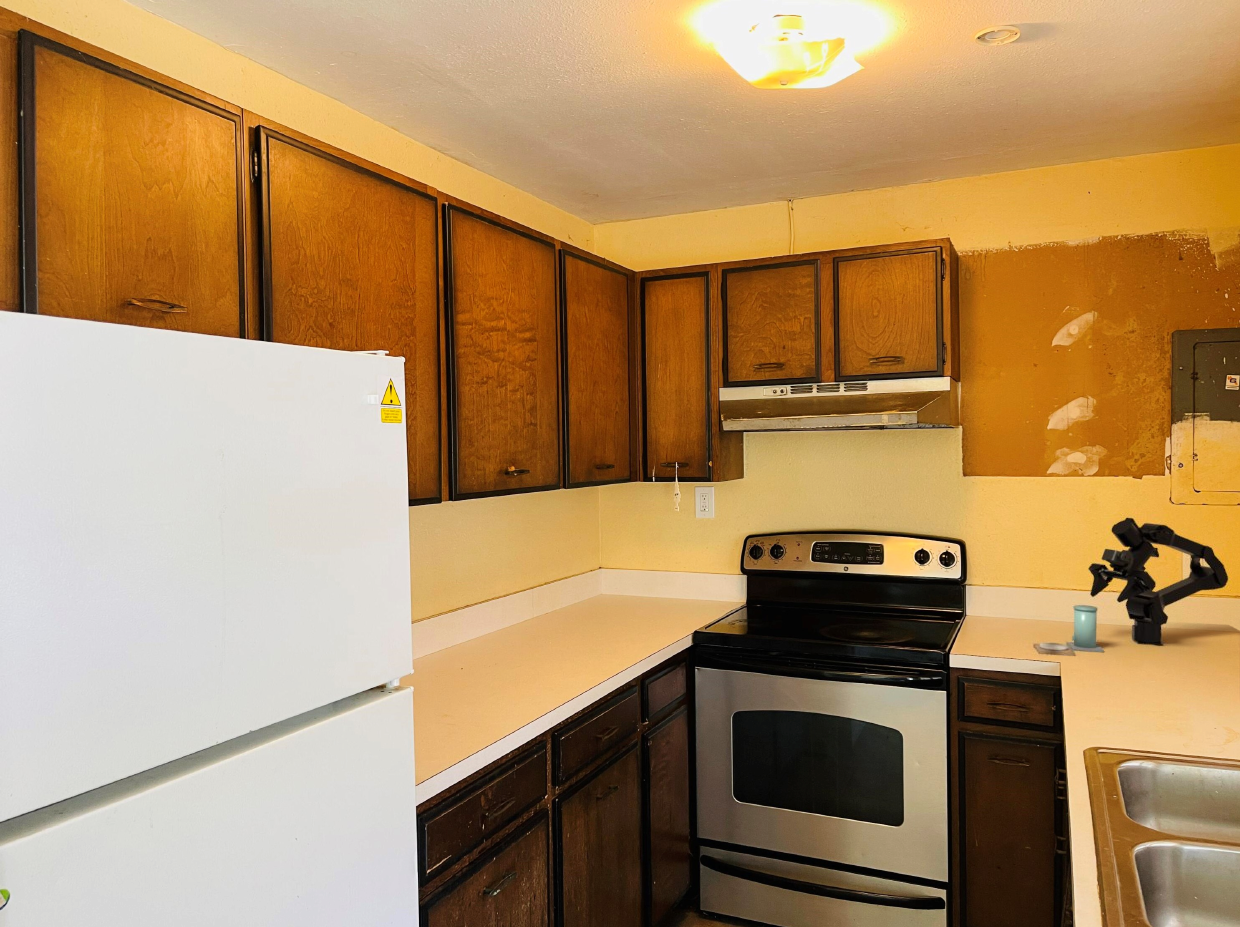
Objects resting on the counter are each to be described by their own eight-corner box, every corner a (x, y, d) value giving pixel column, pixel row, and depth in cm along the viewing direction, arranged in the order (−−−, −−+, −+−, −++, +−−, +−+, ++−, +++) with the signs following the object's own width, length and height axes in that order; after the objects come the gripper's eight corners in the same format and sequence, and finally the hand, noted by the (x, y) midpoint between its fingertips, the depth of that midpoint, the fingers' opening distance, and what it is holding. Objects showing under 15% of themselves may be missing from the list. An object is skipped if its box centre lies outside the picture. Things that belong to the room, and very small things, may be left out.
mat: (1097, 645, 254) (1097, 643, 254) (1103, 652, 247) (1103, 650, 247) (1066, 644, 257) (1066, 641, 257) (1072, 650, 249) (1072, 648, 249)
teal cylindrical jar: (1094, 644, 254) (1094, 605, 253) (1099, 649, 248) (1099, 609, 248) (1070, 642, 255) (1070, 604, 255) (1074, 647, 250) (1074, 608, 249)
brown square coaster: (1068, 648, 251) (1068, 642, 251) (1074, 655, 243) (1074, 650, 243) (1033, 646, 254) (1033, 641, 254) (1038, 653, 245) (1038, 648, 245)
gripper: (1093, 535, 264) (1063, 574, 261) (1148, 542, 246) (1116, 584, 243) (1114, 561, 266) (1084, 600, 263) (1169, 569, 248) (1138, 611, 245)
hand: (1104, 598), depth 254 cm, fingers open, 9 cm apart
